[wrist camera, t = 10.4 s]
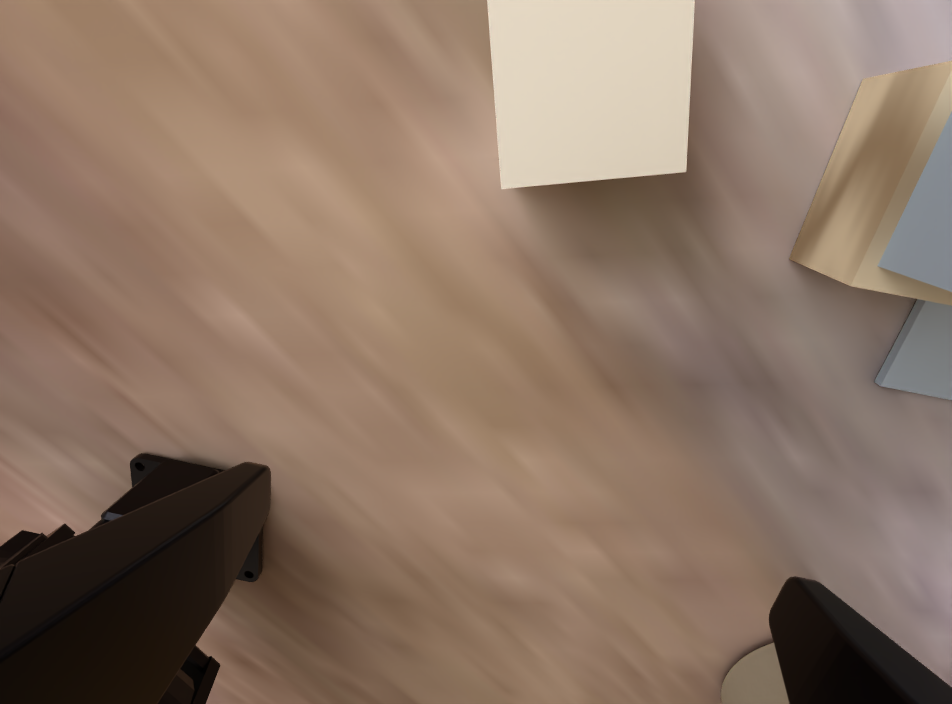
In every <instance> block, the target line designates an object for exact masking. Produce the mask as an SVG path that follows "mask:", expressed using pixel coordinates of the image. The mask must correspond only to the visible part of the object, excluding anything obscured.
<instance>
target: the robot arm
mask: <svg viewBox="0 0 952 704" xmlns="http://www.w3.org/2000/svg"><path fill="white" fill-rule="evenodd" d="M130 469H131V479H132V488H131V489H130V490H129V491H128V492H127V493H125V494H124V495H123V496H122V497H121V498H120V499H118V500H117V501H116V502H115V503H114V504H113V505H111V506H110V507H109V508H108V509H107V510H105V511H104V512H103V513H102V515H101V520H100V521H99V522H98V523H96V524H95V525H94V526H93V527H92V528H91V529H90V530H88V531H86V532H84V533H82V534H80V535H77V536H74V534H75V532H74V531H73V530H72V529H71V528H70V527H68V526H67V525H66V524H63V525H62V526H60V527H59V528H58V529H56V530H55V531H53V532H52V533H50V534H49V535H47V536H45V535H44V534H43V533H41V534H37V533H33V532H28V531H23V530H22V531H21V532H19V533H18V534H16V535H15V536H14V537H12V538H11V539H10V540H8V541H7V542H6V543H4V544H3V545H2V546H0V704H206V701H207V699H208V696H209V693H210V691H211V688H212V686H213V683H214V680H215V678H216V675H217V673H218V670H219V667H220V664H219V663H218V662H217V661H216V660H215V659H214V658H213V657H212V656H210V657H208V656H207V655H205V654H204V653H203V652H202V651H201V650H200V649H199V648H198V647H197V646H196V643H197V642H198V640H199V639H200V637H201V636H202V634H203V632H204V631H205V629H206V628H207V626H208V625H209V623H210V622H211V620H212V619H213V617H214V616H215V614H216V612H217V611H218V609H219V608H220V606H221V604H222V603H223V601H224V599H225V598H226V596H227V594H228V592H229V590H230V588H231V587H232V585H233V583H234V581H235V579H239V580H243V581H248V582H254V581H256V580H257V579H258V578H259V576H260V574H261V572H262V536H263V524H264V522H265V520H266V518H267V515H268V512H269V509H270V495H271V471H270V468H269V467H268V466H266V465H261V464H257V463H252V462H244V463H241V464H239V465H237V466H235V467H232V468H230V469H228V470H220V469H216V468H211V467H206V466H201V465H197V464H192V463H187V462H182V461H178V460H173V459H168V458H163V457H159V456H154V455H149V454H142V453H141V454H138V455H137V456H136V457H134V458H133V459H132V460H131V461H130ZM769 625H770V630H771V634H772V638H773V642H774V645H775V649H776V653H777V657H778V661H779V665H780V669H781V673H782V677H783V681H784V685H785V689H786V693H787V697H788V701H789V704H952V687H950V686H949V685H948V684H947V683H945V682H944V681H943V680H942V679H940V678H939V677H938V676H937V675H935V674H934V673H933V672H932V671H930V670H929V669H928V668H927V667H925V666H924V665H923V664H922V663H920V662H919V661H918V660H916V659H915V658H914V657H913V656H911V655H910V654H909V653H908V652H906V651H905V650H904V649H903V648H901V647H900V646H899V645H898V644H896V643H895V642H894V641H893V640H891V639H890V638H889V637H888V636H886V635H885V634H884V633H883V632H881V631H880V630H879V629H877V628H876V627H875V626H874V625H872V624H871V623H870V622H869V621H867V620H866V619H865V618H864V617H862V616H861V615H860V614H859V613H857V612H856V611H855V610H854V609H852V608H851V607H850V606H849V605H847V604H846V603H845V602H844V601H842V600H841V599H840V598H838V597H837V596H836V595H835V594H833V593H832V592H831V591H830V590H828V589H827V588H826V587H825V586H823V585H822V584H821V583H819V582H817V581H815V580H810V579H806V578H801V577H796V576H794V577H790V578H789V579H787V580H786V582H785V584H784V585H783V587H782V589H781V591H780V593H779V595H778V597H777V598H776V600H775V602H774V604H773V606H772V608H771V610H770V614H769Z"/></svg>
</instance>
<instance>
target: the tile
mask: <svg viewBox="0 0 952 704" xmlns="http://www.w3.org/2000/svg"><path fill="white" fill-rule="evenodd" d="M874 382H875V383H877V384H878V385H880V386H882V387H887V388H892V389H897V390H902V391H907V392H912V393H917V394H923V395H928V396H933V397H938V398H943V399H948V400H952V306H951V305H946V304H940V303H935V302H930V301H925V300H920V299H917V301H916V303H915V305H914V307H913V309H912V311H911V313H910V315H909V316H908V318H907V320H906V322H905V324H904V326H903V328H902V330H901V332H900V334H899V335H898V337H897V339H896V341H895V343H894V345H893V347H892V349H891V351H890V353H889V355H888V356H887V358H886V360H885V362H884V364H883V366H882V368H881V370H880V372H879V374H878V376H877V377H876V379H875V381H874Z"/></svg>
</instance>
